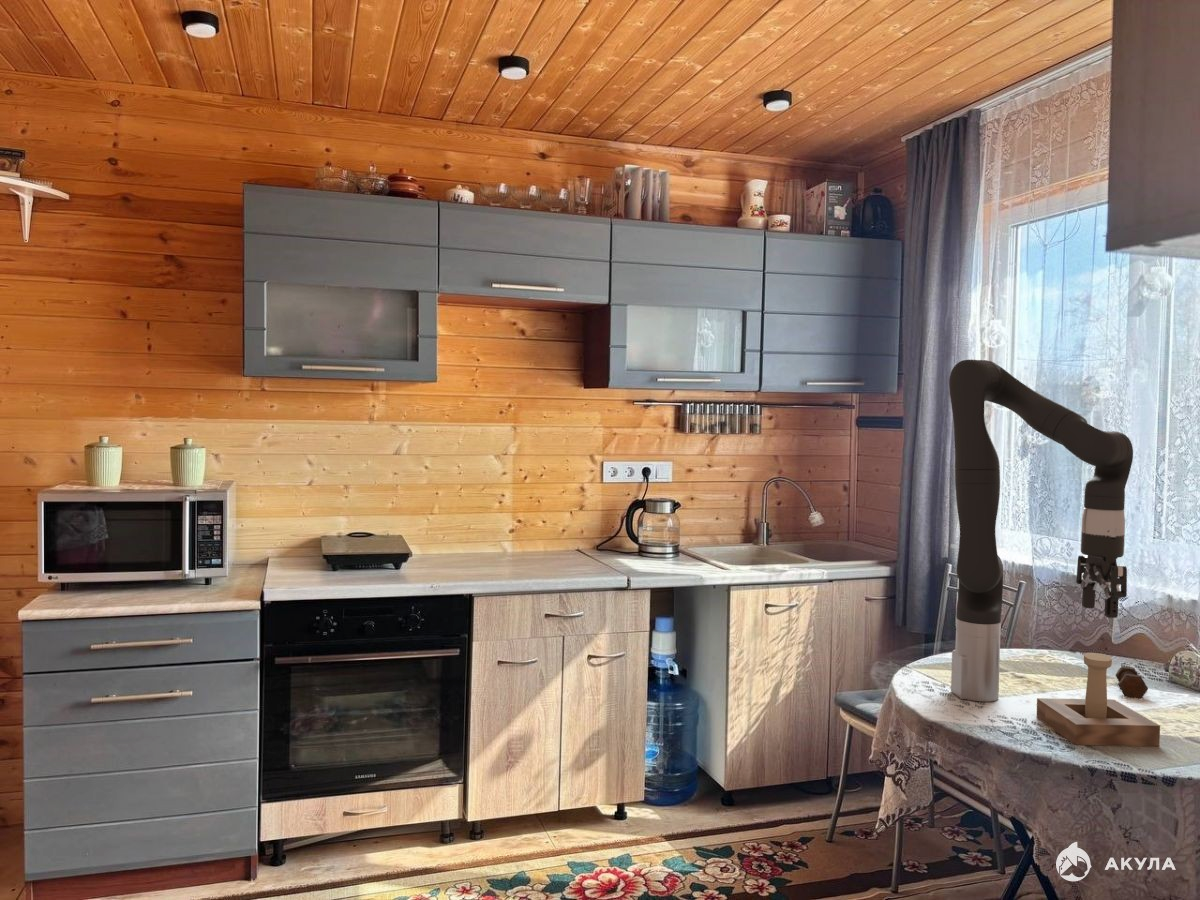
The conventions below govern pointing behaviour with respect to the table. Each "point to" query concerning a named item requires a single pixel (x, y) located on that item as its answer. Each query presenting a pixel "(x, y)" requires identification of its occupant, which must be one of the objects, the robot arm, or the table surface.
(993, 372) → the robot arm
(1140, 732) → the socket block
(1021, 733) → the table surface
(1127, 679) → the dark brown hexagonal dumbbell
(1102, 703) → the handle
